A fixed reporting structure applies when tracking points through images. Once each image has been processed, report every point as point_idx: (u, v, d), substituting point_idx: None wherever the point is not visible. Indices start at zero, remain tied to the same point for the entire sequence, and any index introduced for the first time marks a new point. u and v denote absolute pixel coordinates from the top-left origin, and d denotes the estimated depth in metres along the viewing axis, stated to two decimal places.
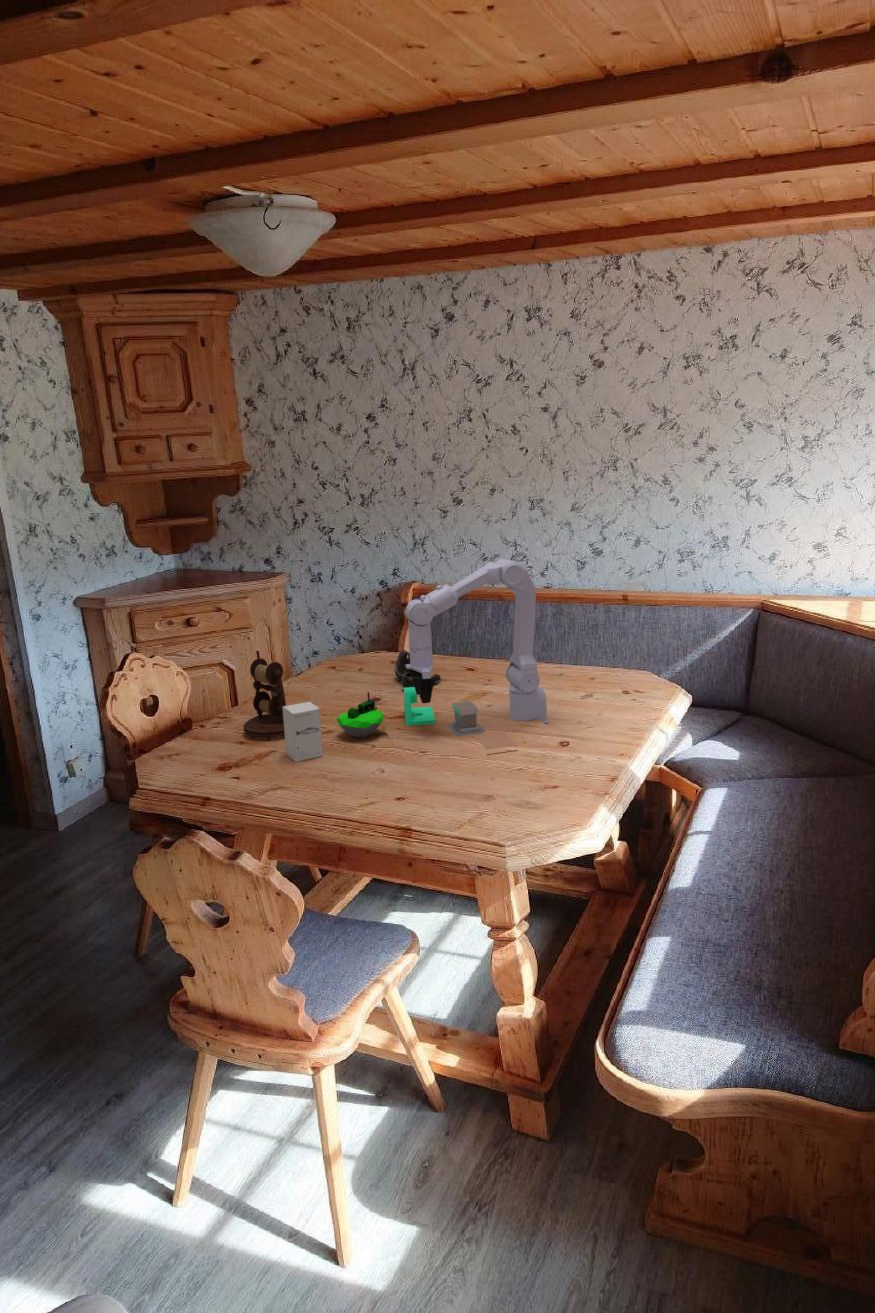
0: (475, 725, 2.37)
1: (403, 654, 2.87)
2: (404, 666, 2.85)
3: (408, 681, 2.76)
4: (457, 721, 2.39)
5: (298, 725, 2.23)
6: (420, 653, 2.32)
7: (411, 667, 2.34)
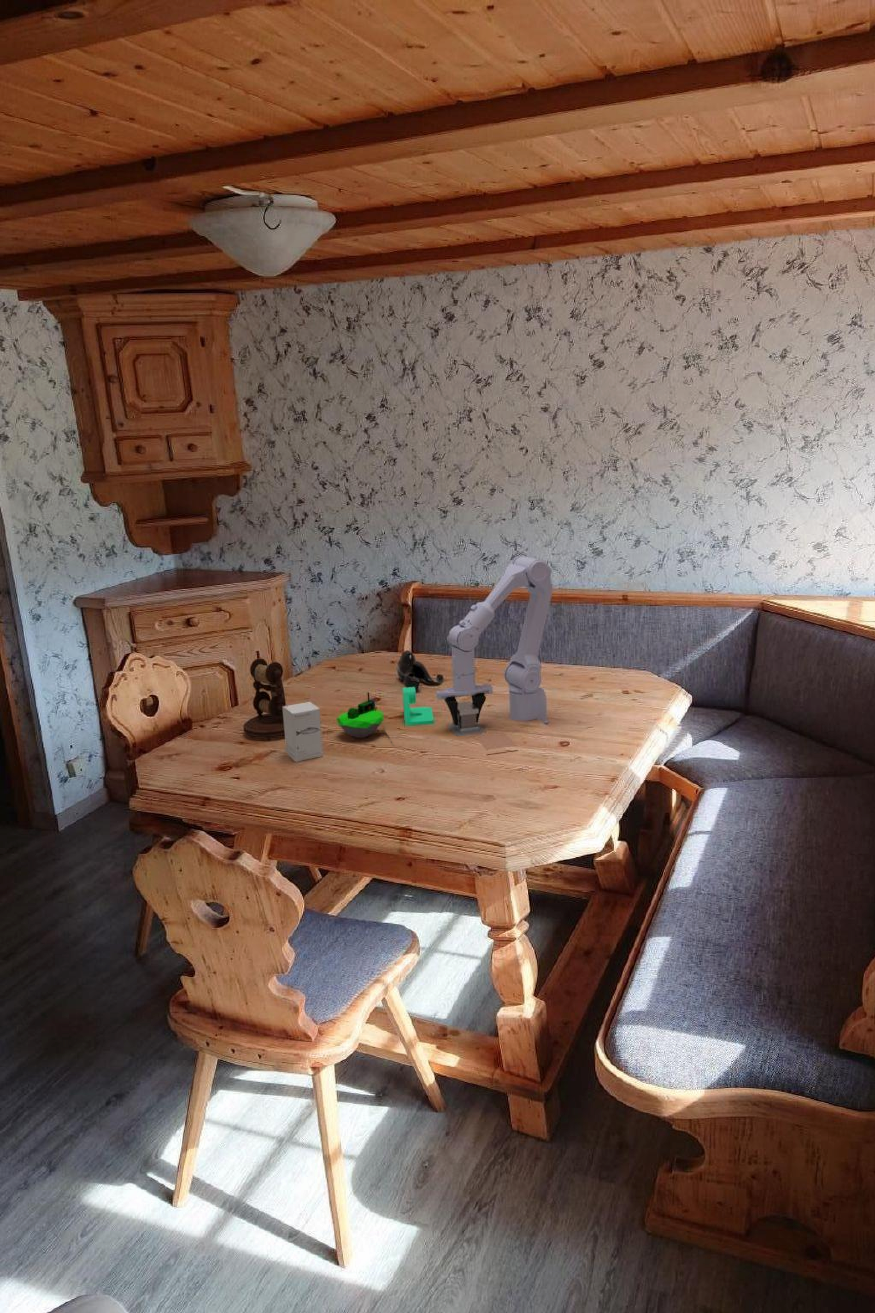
0: (475, 725, 2.37)
1: (406, 654, 2.87)
2: (407, 666, 2.85)
3: (410, 681, 2.76)
4: None
5: (298, 725, 2.23)
6: (453, 676, 2.36)
7: None
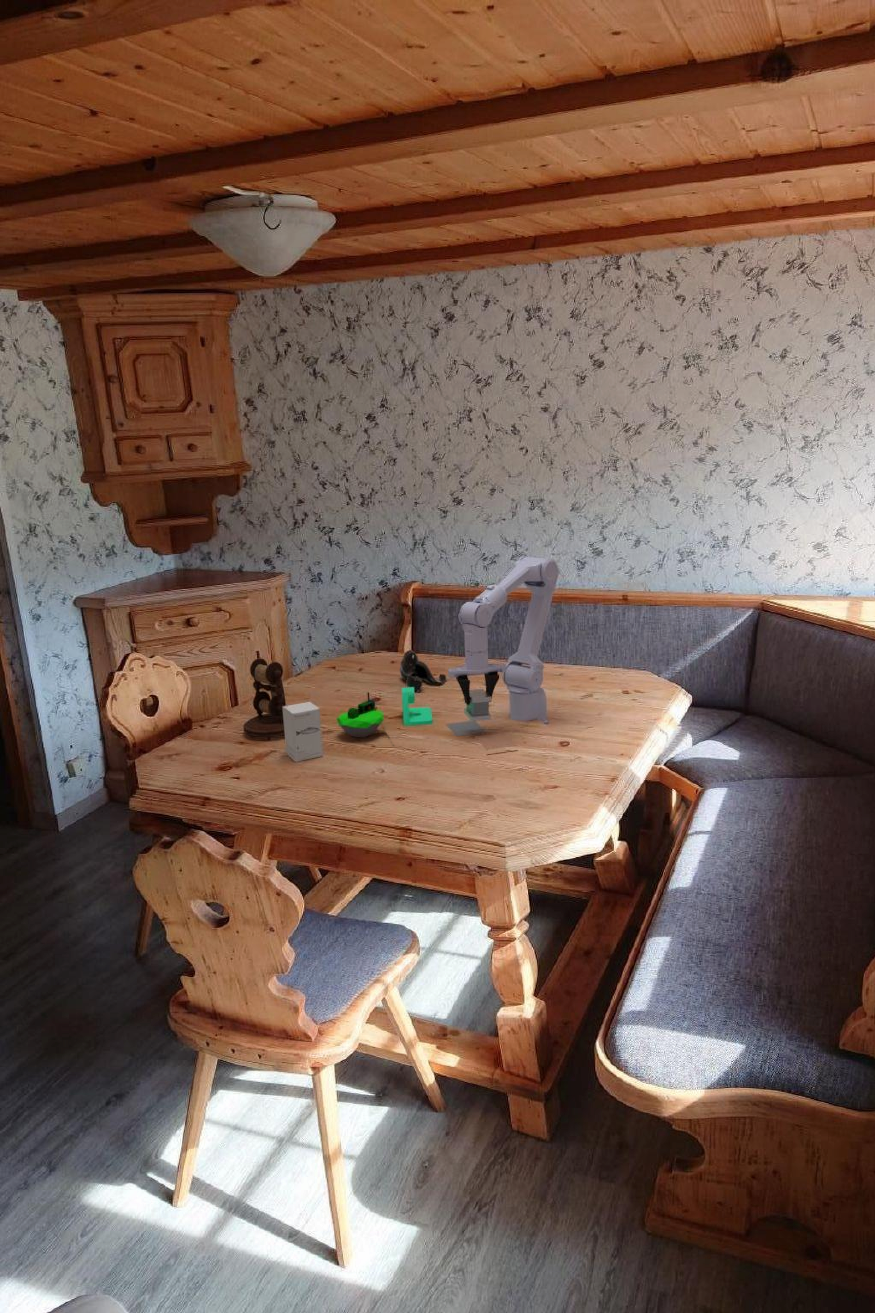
0: (487, 713, 2.31)
1: (409, 654, 2.87)
2: (409, 666, 2.85)
3: (413, 680, 2.76)
4: (469, 709, 2.34)
5: (298, 725, 2.23)
6: (465, 654, 2.29)
7: None
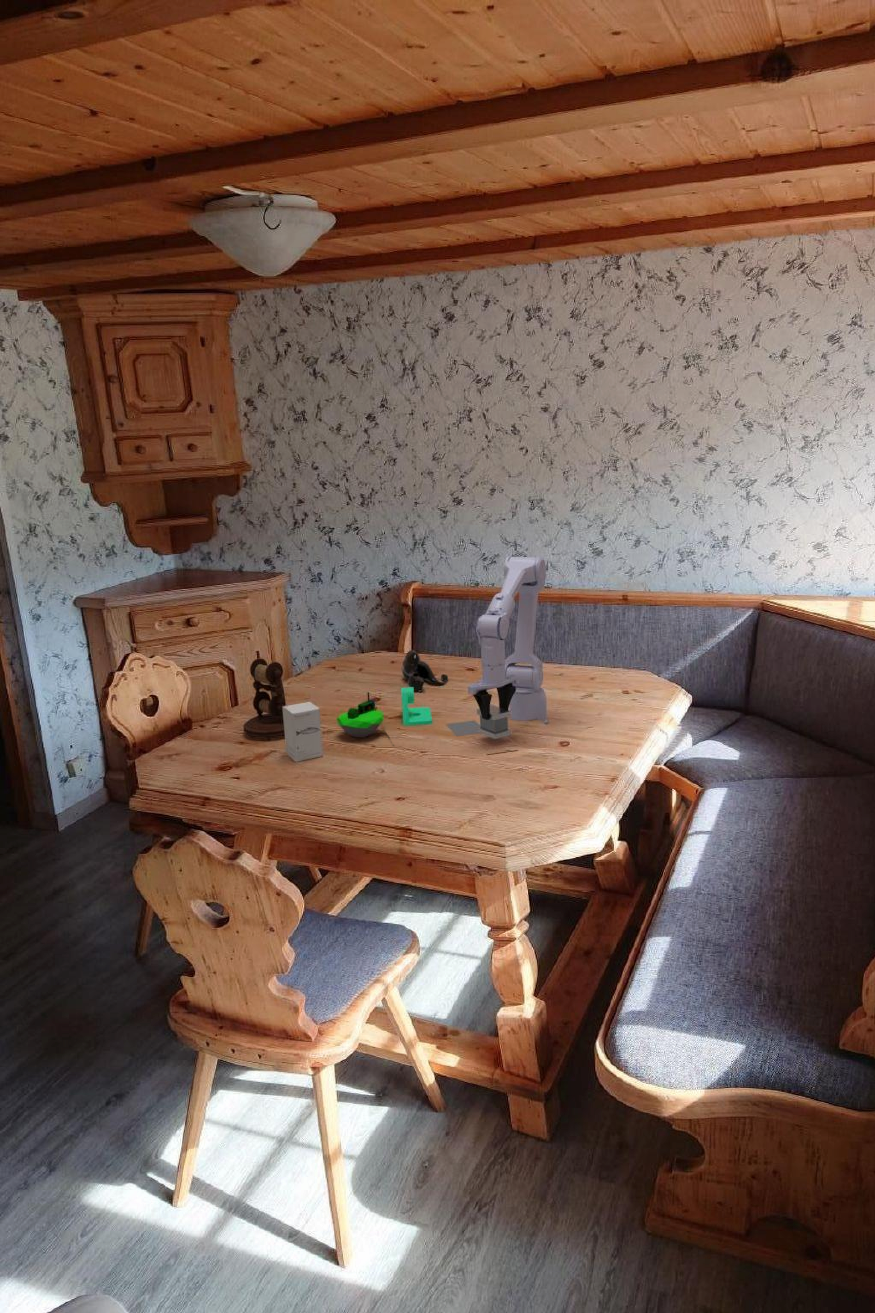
0: (507, 729, 2.27)
1: (410, 654, 2.87)
2: (411, 666, 2.85)
3: (415, 680, 2.76)
4: (485, 727, 2.28)
5: (298, 725, 2.23)
6: (482, 668, 2.24)
7: None
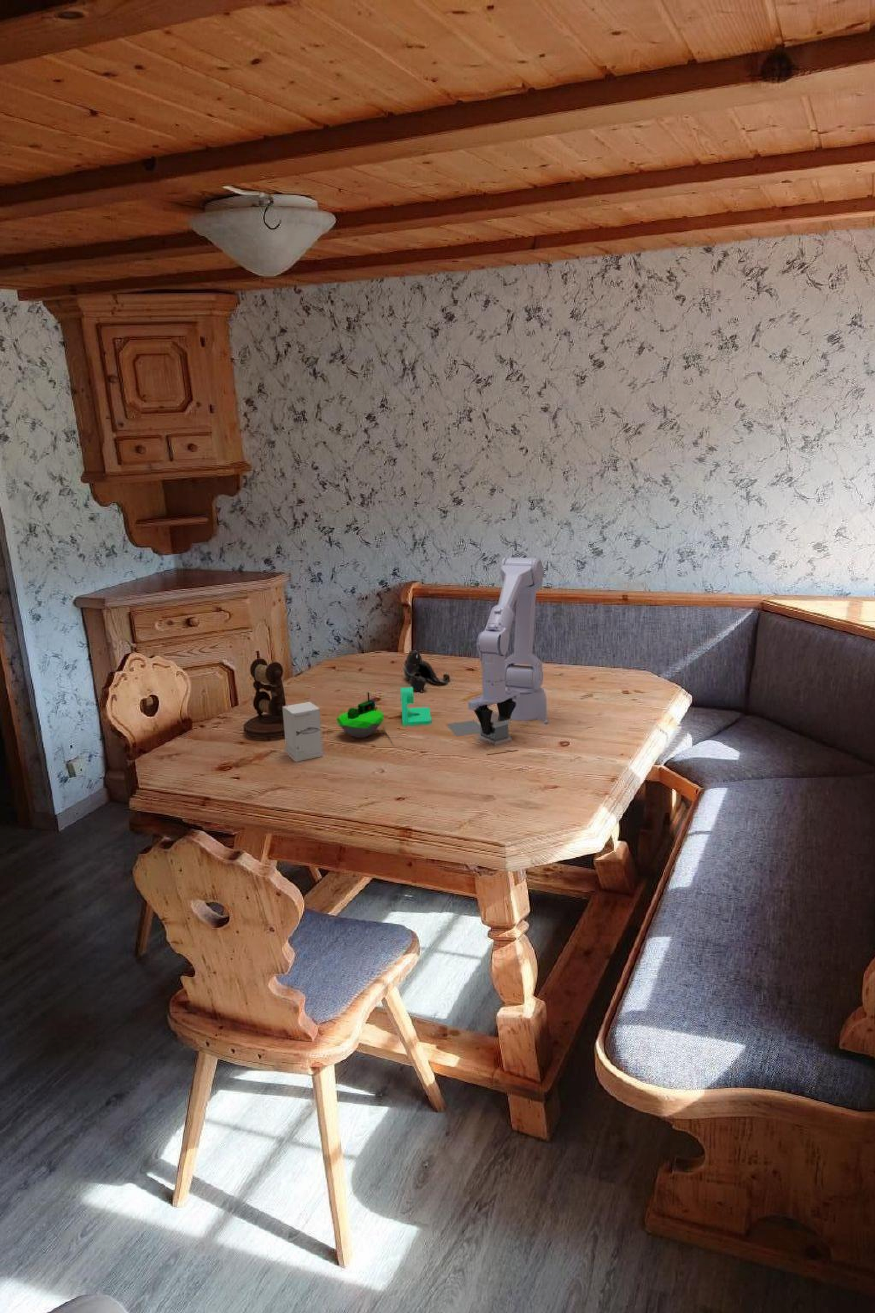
0: (507, 736, 2.28)
1: (412, 654, 2.87)
2: (413, 666, 2.85)
3: (416, 680, 2.76)
4: None
5: (298, 725, 2.23)
6: (483, 684, 2.25)
7: None
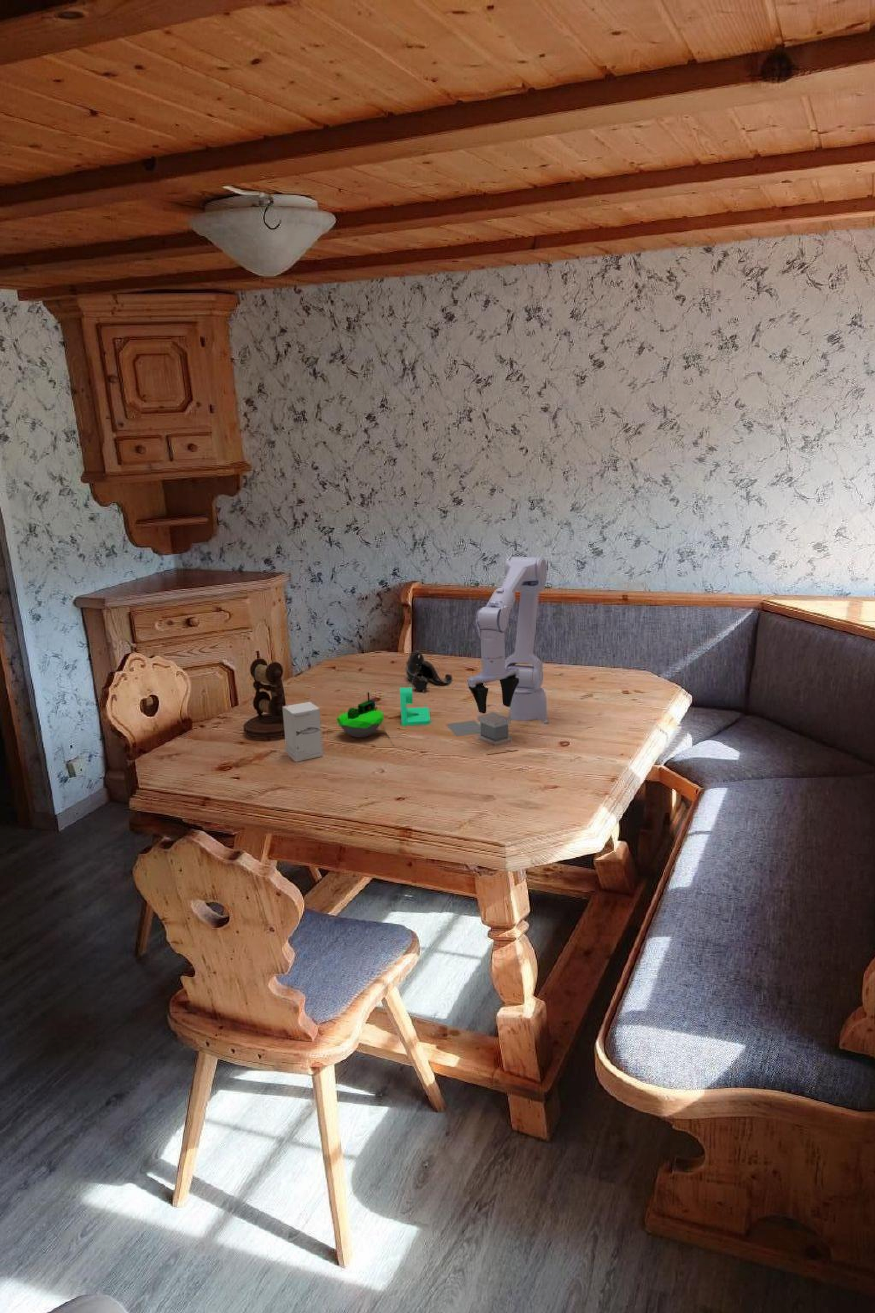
0: (507, 736, 2.28)
1: (414, 654, 2.87)
2: (415, 666, 2.85)
3: (418, 680, 2.76)
4: (486, 734, 2.29)
5: (298, 725, 2.23)
6: (482, 661, 2.23)
7: None
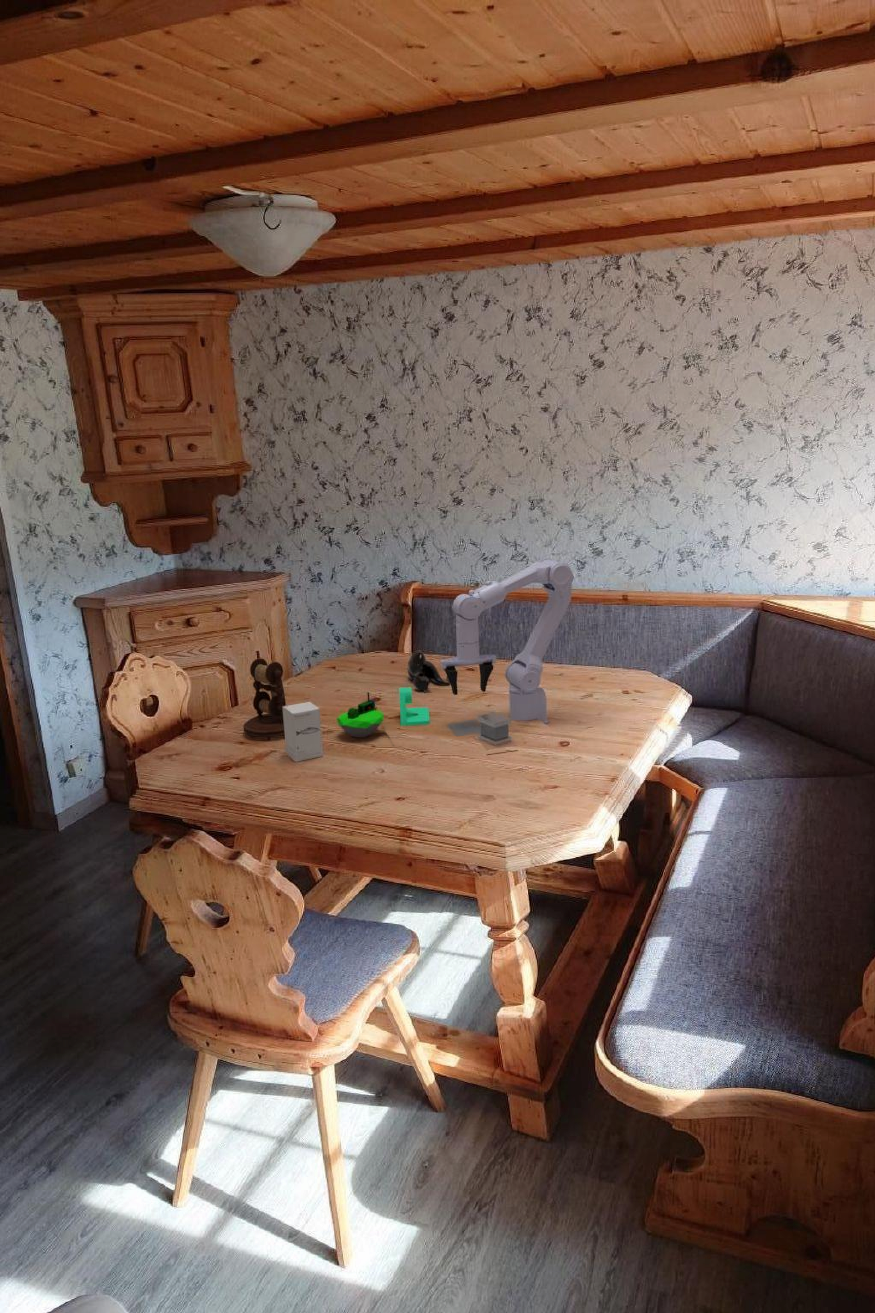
0: (507, 736, 2.28)
1: (416, 654, 2.87)
2: (417, 666, 2.84)
3: (420, 680, 2.76)
4: (486, 734, 2.29)
5: (298, 725, 2.23)
6: None
7: None
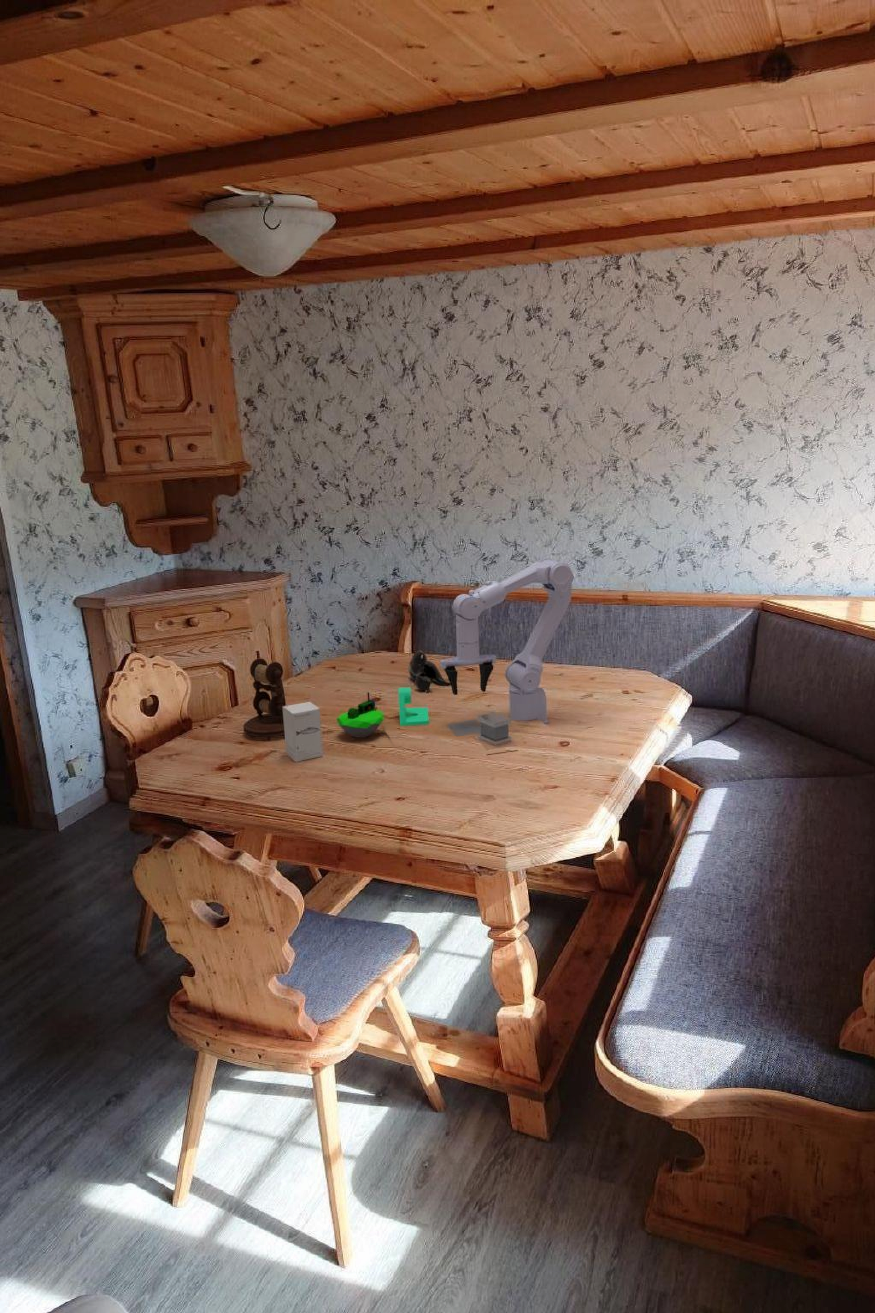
0: (507, 736, 2.28)
1: (417, 654, 2.87)
2: (418, 666, 2.84)
3: (422, 680, 2.76)
4: (486, 734, 2.29)
5: (298, 725, 2.23)
6: None
7: None
